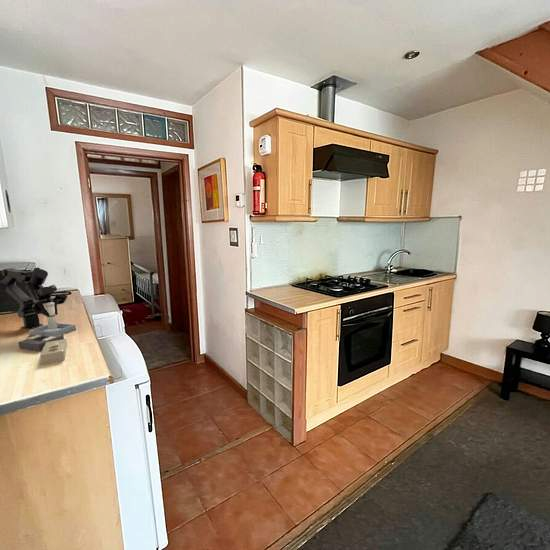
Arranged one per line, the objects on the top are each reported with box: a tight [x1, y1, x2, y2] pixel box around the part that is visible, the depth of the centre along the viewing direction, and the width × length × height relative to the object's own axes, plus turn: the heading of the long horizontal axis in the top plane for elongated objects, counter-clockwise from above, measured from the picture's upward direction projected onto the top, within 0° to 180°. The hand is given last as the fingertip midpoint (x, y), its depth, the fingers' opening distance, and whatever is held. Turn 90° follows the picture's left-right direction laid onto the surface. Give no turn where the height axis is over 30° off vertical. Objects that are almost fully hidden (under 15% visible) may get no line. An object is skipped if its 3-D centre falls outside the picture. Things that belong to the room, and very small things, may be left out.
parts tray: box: [28, 322, 77, 337], centre depth 145 cm, size 14×12×2 cm
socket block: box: [18, 333, 65, 352], centre depth 129 cm, size 11×11×3 cm
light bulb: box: [44, 302, 57, 329], centre depth 144 cm, size 4×4×12 cm
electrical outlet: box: [39, 338, 68, 365], centre depth 119 cm, size 7×4×18 cm
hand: (52, 315), depth 143 cm, fingers closed on light bulb, 3 cm apart
